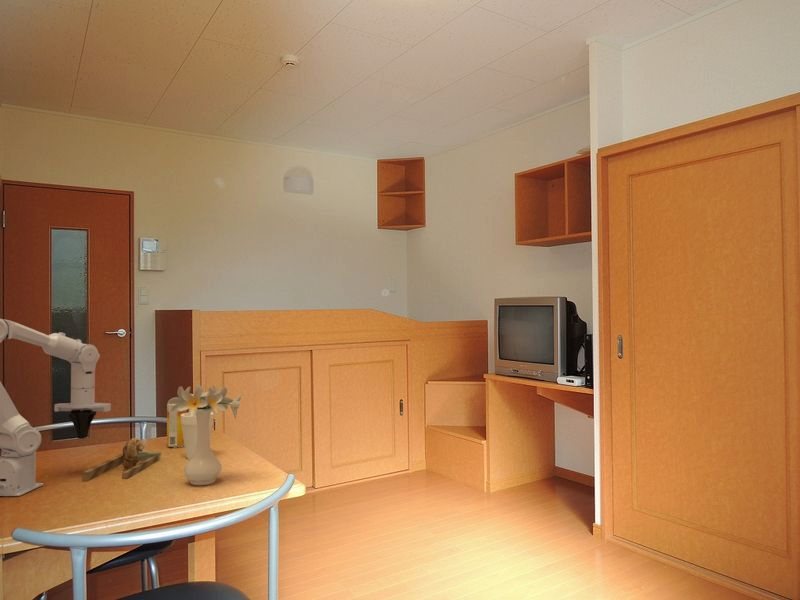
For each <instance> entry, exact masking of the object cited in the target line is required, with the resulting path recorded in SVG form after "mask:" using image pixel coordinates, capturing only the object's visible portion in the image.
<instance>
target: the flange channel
mask: <svg viewBox="0 0 800 600" xmlns="http://www.w3.org/2000/svg"><path fill="white" fill-rule="evenodd" d="M161 457H162V451H161V452H159V451H158V452H157V451H149V450H142V452H139V453H138V455H137V460H138V462H140V461H141V462H140V463H136V466H134V467H129V468H128V470H124V471H123V472H122V473H121V480H127V479H129V478H130V477H132V476H134V475H136V474H137V473H139V472H141V471H144V470H145V469H147V468H148V467H150V466H152V465H154V464H155V463H157V462H159V461H161V460H162V458H161ZM123 458H124V456H123V452H122V453H121V454H118V455H116V456H114V457H111V458H109V459H108V460H106V461H103V462H101V463H99V464H97V465H95V466H93V467H91V468H89V469H87V470H85V471H83V472H81V474H82V476H81V480H82V482H89V481H91V480H92V479H95V478H97V477H99V476H101V475H102V474H104V473H106V472H108V471H110V470H112V469H115V468H116V467H118V466H121V465H123V463H124V461H123ZM130 461H131V462H133V460H128V462H130ZM88 480H89V481H88Z"/></svg>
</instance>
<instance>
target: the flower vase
mask: <svg viewBox="0 0 800 600" xmlns="http://www.w3.org/2000/svg"><path fill="white" fill-rule="evenodd" d="M191 388H192V387H191V386H188V387H187V388H186V389H185V390H184V387H183V386H181V385H180V386H178V389H177V396H175V397H172V398H170V399H169V400H168V401H167V404H175V405H174V406H173V407H172V409H171V411H174V410H175V409H176V408H177V410H178V411H184V410H187V411H188V412H189V415H190V417H194V416H195V415H196V419H197V443H196V449H195V452H194V454H193V456H192V458H191V459H188V461H187V462H186V464H185V465H184V467H183V468H184V469H183V474H184V476H185V477H186V478H187V479H188V480H190V481H189V482H190V484H191V485H193V486H207V485H212V484H213V483H215V482H216V478H217V477H218V476H219V475H220V473H221V472H222V470H223V467H222V463H221V461H220V460H219V458H217V457H216V456H215V455H214V453H213V450H212V448H211V447H212V446H211V438H210V439H209V421H210V415H211V412H212V411H213V412H214V414H216V415H218V414H219V411H222V412H227V410H228V409H229V407H228V406H230V409H231V411H232V413H233V416H234V419H235V421H236V420H237V414H238V409H239V408H240V405H241V399H242V398H241V397H242V396H243V395H242V394H243V393H244V392H243V391H241V392H240V393H239V395H238V396H237V397H236V398H235V399H234V400H233V398H231V397H229V396H228V397H227V394H228V389H227V387H226V386H223V387H221V388H220V390H219V388H218V387H217V386H216V385H215V384H213V385H212V387H210V386H209V387H208V391H204V388H203V387H202V386H201V385H196V387H195V391H194V393H191Z"/></svg>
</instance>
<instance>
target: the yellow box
mask: <svg viewBox="0 0 800 600" xmlns="http://www.w3.org/2000/svg"><path fill="white" fill-rule="evenodd" d="M174 405H175V404H168V403H167V404H166V407H167V408H166V445H167V446H168V448H169V447H180V446H184V438H183V430H182V424H181V414H183V413H188V409H187V410H184V411H178V410H177V408H176V409H175V410H174V411H171V409H172V407H173V406H174ZM184 447H185V446H184ZM180 448H181V447H180Z"/></svg>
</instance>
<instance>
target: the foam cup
mask: <svg viewBox="0 0 800 600" xmlns="http://www.w3.org/2000/svg"><path fill="white" fill-rule="evenodd" d="M213 412H214V411H213ZM213 412H212V411H211V415H210V421H209V439H210V440H211V437H212V432H213V431H212V430H213V422H215V421H214V418H215V417H214V414H215V412H214V413H213ZM181 424H182V430H183V438H184V453H185V457H187V458H192V456H193V454H194V452H195V449H196V443H197V419H196V415H195V416H194V417H190V415H189V411H187V413H183V414H181ZM187 458H186V459H187Z"/></svg>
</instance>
